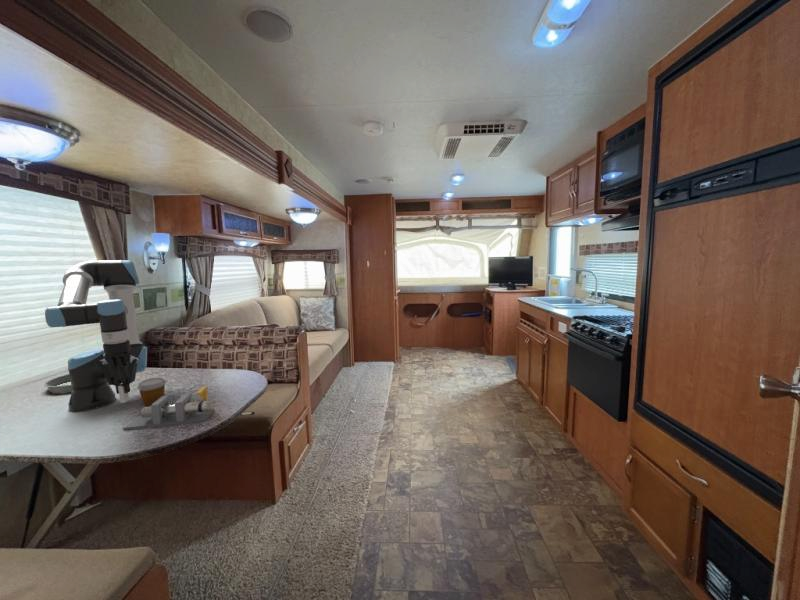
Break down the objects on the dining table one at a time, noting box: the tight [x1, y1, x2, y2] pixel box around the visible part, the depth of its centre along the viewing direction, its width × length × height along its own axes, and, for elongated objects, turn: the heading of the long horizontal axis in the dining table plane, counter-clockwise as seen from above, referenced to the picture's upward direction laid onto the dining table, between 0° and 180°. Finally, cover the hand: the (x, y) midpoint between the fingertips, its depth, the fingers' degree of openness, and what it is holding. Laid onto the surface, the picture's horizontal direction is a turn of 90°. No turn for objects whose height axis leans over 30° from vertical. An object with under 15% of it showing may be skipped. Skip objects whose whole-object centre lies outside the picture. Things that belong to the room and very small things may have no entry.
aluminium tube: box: [140, 400, 208, 418], centre depth 127 cm, size 22×4×4 cm, turn 101°
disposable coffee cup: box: [137, 377, 166, 407], centre depth 137 cm, size 10×10×12 cm
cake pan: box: [43, 373, 72, 394], centre depth 166 cm, size 25×25×4 cm
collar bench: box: [122, 385, 215, 431], centre depth 127 cm, size 28×9×11 cm, turn 101°
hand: (124, 400), depth 124 cm, fingers closed
